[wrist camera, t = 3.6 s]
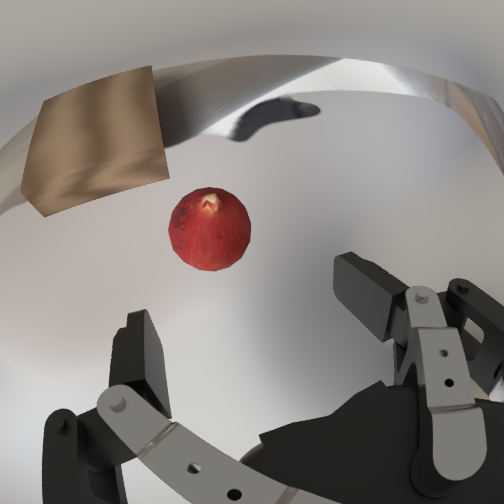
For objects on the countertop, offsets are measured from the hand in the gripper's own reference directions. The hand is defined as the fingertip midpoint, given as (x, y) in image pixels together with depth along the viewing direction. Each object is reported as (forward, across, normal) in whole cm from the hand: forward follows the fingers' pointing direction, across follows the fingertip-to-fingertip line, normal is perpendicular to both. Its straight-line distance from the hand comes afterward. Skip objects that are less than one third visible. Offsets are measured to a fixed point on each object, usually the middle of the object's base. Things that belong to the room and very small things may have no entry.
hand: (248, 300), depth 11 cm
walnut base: (+23, +9, -8) cm, 26 cm away
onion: (+12, 0, +3) cm, 13 cm away
